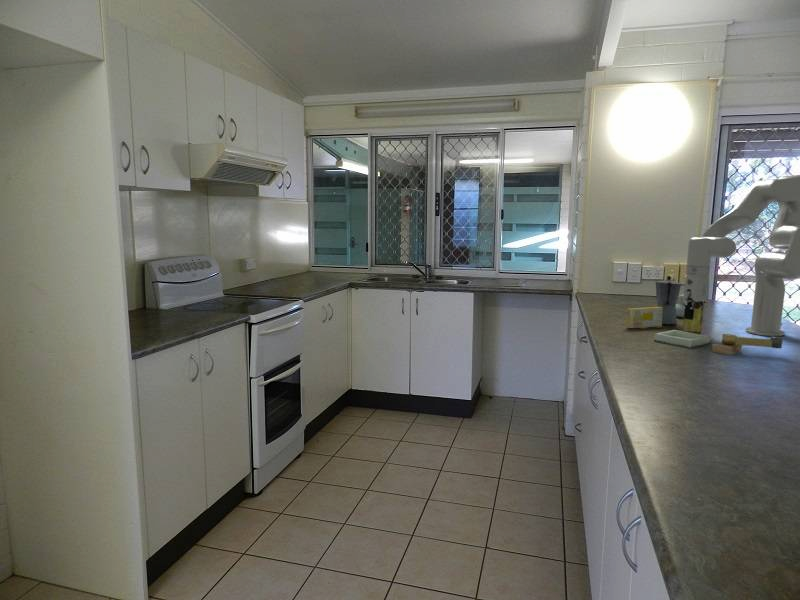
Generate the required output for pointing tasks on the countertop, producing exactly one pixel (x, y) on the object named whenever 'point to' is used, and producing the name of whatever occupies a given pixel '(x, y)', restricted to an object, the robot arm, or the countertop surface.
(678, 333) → the tray
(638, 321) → the candy box
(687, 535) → the countertop surface
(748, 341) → the lever
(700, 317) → the sauce bottle
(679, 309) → the air freshener
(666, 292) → the moka pot
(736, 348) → the orange brown block
